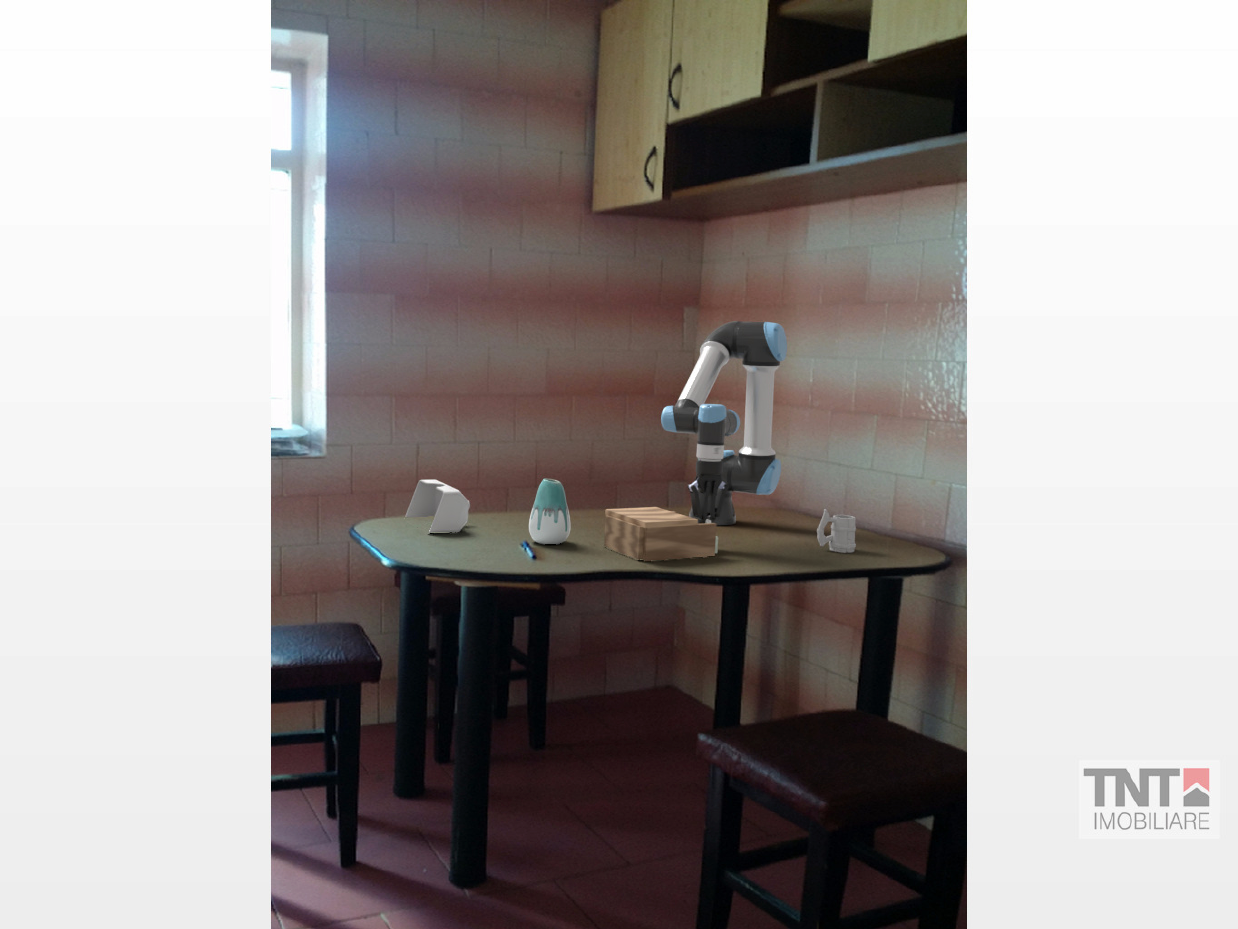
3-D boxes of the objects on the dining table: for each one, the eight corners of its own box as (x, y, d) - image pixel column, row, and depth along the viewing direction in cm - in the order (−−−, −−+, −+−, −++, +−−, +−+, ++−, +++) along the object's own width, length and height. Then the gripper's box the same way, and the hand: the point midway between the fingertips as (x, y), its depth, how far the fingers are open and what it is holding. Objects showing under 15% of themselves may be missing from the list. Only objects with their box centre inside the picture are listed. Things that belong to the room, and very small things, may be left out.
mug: (860, 553, 301) (863, 511, 300) (821, 553, 299) (824, 511, 297) (848, 547, 309) (851, 507, 307) (810, 547, 306) (813, 506, 305)
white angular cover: (481, 533, 305) (483, 490, 304) (427, 535, 298) (429, 491, 296) (454, 518, 327) (455, 478, 326) (403, 520, 320) (404, 479, 319)
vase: (576, 542, 298) (579, 479, 296) (557, 548, 287) (560, 483, 285) (540, 537, 303) (543, 475, 301) (520, 543, 292) (522, 479, 290)
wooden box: (601, 546, 293) (603, 509, 291) (672, 542, 305) (674, 506, 303) (640, 562, 275) (642, 522, 274) (714, 556, 287) (716, 518, 285)
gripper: (698, 461, 288) (693, 546, 291) (736, 460, 295) (731, 543, 297) (682, 458, 295) (678, 541, 297) (720, 457, 301) (716, 538, 304)
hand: (705, 542), depth 297 cm, fingers closed
